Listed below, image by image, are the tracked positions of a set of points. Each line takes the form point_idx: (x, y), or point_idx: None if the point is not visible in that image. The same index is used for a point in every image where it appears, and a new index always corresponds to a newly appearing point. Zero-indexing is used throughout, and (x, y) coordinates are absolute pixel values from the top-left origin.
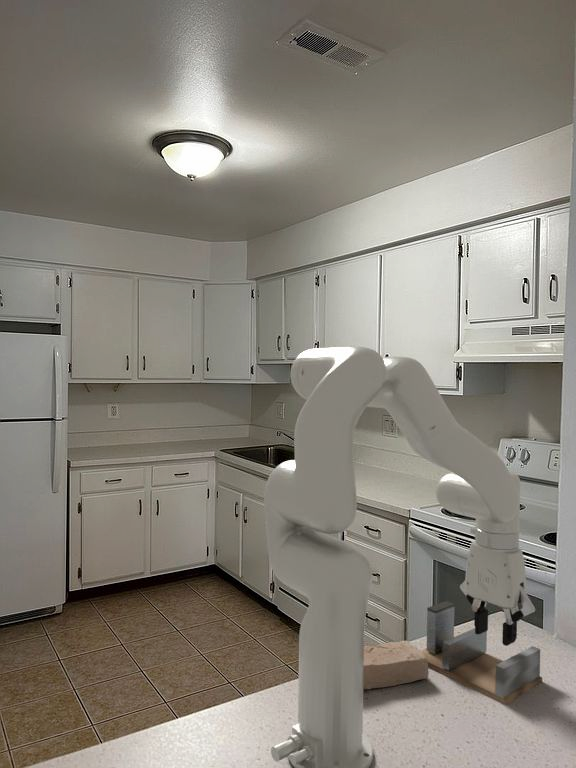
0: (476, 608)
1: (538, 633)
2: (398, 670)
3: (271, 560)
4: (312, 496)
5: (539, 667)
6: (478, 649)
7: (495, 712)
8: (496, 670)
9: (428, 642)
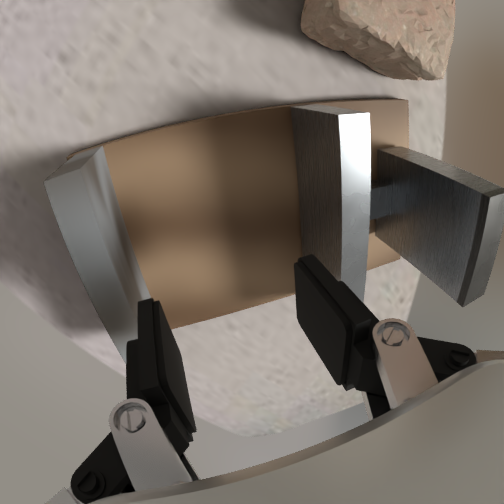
0: (383, 343)
1: (300, 418)
2: None
3: None
4: None
5: None
6: None
7: (55, 97)
8: (80, 164)
9: (414, 153)
